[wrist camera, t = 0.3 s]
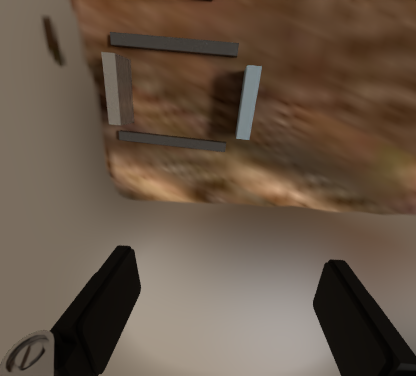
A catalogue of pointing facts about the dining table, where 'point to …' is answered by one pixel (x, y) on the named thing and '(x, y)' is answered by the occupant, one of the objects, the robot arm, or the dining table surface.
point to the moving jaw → (247, 101)
